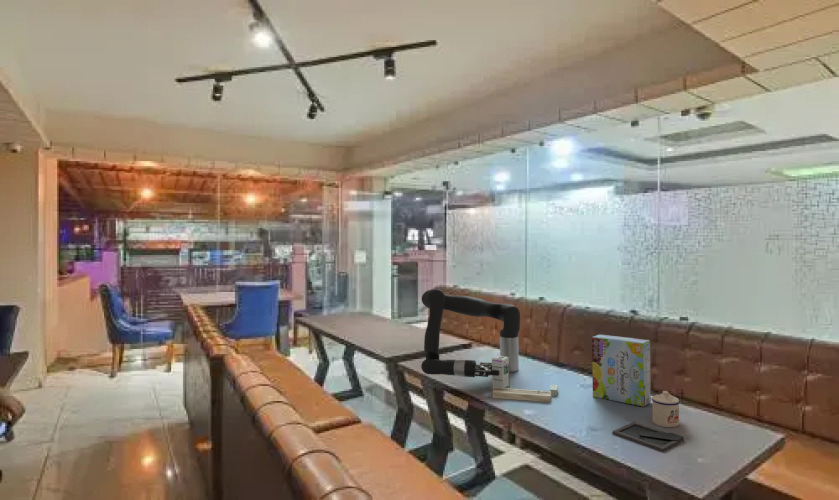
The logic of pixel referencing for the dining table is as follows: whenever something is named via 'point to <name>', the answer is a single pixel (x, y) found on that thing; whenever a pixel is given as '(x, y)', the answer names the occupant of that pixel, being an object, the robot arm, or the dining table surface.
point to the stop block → (554, 390)
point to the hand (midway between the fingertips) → (500, 370)
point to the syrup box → (501, 372)
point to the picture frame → (648, 436)
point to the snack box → (621, 369)
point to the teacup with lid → (665, 410)
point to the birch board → (522, 394)
